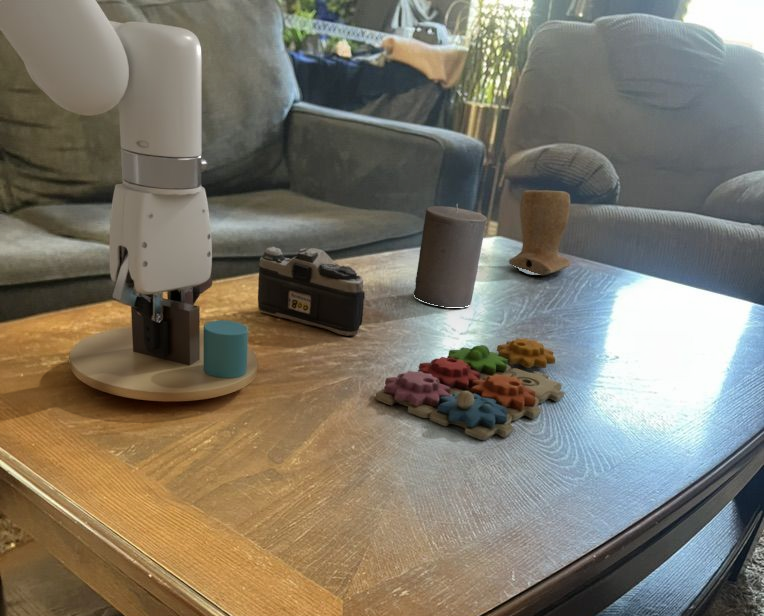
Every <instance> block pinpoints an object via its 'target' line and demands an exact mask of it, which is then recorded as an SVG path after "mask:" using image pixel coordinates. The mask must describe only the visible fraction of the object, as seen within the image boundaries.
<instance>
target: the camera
mask: <svg viewBox="0 0 764 616" xmlns="http://www.w3.org/2000/svg"><path fill="white" fill-rule="evenodd" d="M258 266H259V267H258V268H259V269H258V284H257V286H258V287H257V288H258V289H257V307H258V310H259V312H261V313H263V314H267V315H270V316H273V317H277V318H280V319H287V320H289V321H292V322H293V321H294V322H297V323H300V324H304V325H307V326H314V327H317V328H321V329H325V330H328V331H330V332H333V333H335V334H338V335H341V336H347V337H348V336H349V337H350V336H353V337H354V336H356V335H357V334H358V332H359V330H360V327H361V326H362V324H363V317H364V306H365V304H364V302H365V294H366V293H365V290H364V281H365V279H364V278H363V277H362V276H360V275H358V273H357V272H356V270H355V269H354V268H352V267H351V266H349V265H339V264H338V263H335V261H334V260H333V259H332V258H331V257H330V255H329V254H328V253H326V252H325V251H324V250H323V249H320V248H315V247H310V248H306V247H305V248H300V249H299V251H298V253H297V255H296V256H294V257H292V258H289V257H285V256H284V253H283V252H282V249H280V248H279V247H275V246H273V245H272V246H270V247H267V248H266V249H265V251H264V253H263V255H262V256H261V257H260V258H259V265H258Z"/></svg>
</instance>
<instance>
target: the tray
mask: <svg viewBox="0 0 764 616" xmlns="http://www.w3.org/2000/svg"><path fill="white" fill-rule="evenodd" d="M150 298H151V297H149V302H150ZM200 309H201V308H200V306H199V305H195V304H194V305H191V304H187V303H182V302H178V301H173V300H169V299H168V298H164V297H163V319H162V320H164V321H166V322H167V323H168V344H169V355H168V356H167V357H164V358H161V357H159V356H157V355H155V354H153V353H151V352H148V351H147V347H146V346H145V343H144V327H143V316H140V315H139V314H138V313H137V311H136V310H135V309H134V308H133V307H131V306H130V313H131V317H130V318H131V326H124V327H117V328H113V329H108V330H103V331H100V332H96V333H94V334H91V335H88V336H86V337H85V338H82V339H81V340H79V341H77V342H76V343H75V344H74V345H73V347H72V348H71V349H70V351H69V355H68V357H69V358H68V359H69V368H70V371H71V372H72V374H73V375H74V376H75V377H76V378H77V379H78V380H79V381H81V382H82V383H84V384H85V385H87V386H89V387H90V388H93V389H95V390H98V391H101V392H104V393H107V394H111V395H114V396H118V397H122V398H128V399H134V400H142V401H151V402H152V401H153V402H189V401H190V402H191V401H199V400H200V401H201V400H208V399H212V398H218V397H221V396H226V395H228V394H231V393H234V392H237V391H239V390H241V389H243V388H245V387H247V386H248V385H250V383H252V382H253V381H254V380H255V379H256V377H257V374H258V372H259V360H258V356H257V355H256V353H255V352H254V351H253V349H251V348H250V347H249V346H248V349H247V372H246V374H245V375H243V376H240V377H236V378H219V377H214V376H211V375H209V374H207V373H206V372H205V371H204V329H201V328H200V326H201V325H200V321H201V319H200V317H201V315H200V313H201V312H200V311H201V310H200Z"/></svg>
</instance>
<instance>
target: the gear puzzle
mask: <svg viewBox="0 0 764 616" xmlns="http://www.w3.org/2000/svg"><path fill="white" fill-rule="evenodd" d="M555 363H556V357H555V356H554V350H550V349H549V348H548V349H547V348H545V347H544V343H542V342H538V341H537V340H536V339H529V338H519V337H518V338H516V339H512V340H511V341H510V340H509V341H506V343H503V344H498V345H497V347H496V352H494V351H490V349H489V347H488V346H486V345H484V344H480V345H475V346H473V347H472V348H469V347H460V349H450V350H449V351H448V355H447V356H446V357H445V356H441V357H439V358H434V359H432V360H431V361H430V362H420V363H419V364H418V370H417V371H413V370H408V371H406V372H402V373H398V375H397V376H393V377H392V376H391V377H386V378H385V381H384V387H383V389H381V390H378V391H376V393H375V397H374V398H375V400H376V401H378V402H381V403H383V404H385V405H388V406H391V407H392V406H393V405H394V404H400V405H403V406H405V407H407V412H408V413H409V414H411V415H414V416H416V417H419V418H423V419H429V420H430V422H432V423H436V424H438V425H440V426H443V427H448V426H449V424H450V425H451V424H452V425H455V426H458V427H460V428H463V429H464V434H465V435H466V436H470V437H473V438H474V439H477V440H481V441H486V440H488V439H489V438H491V437H492V436H494V435H498V436H500V437H502V438H507V437H508V436H510V435H511V434H513V433H514V429H515V426H513V425H512V424H511V423H512V422H514V421H517V420H519V419H520V418H522V417H524V416H525V417H527V418H529V419H531V420H534V419H535V418H537V417H539V416H540V415H541V413H542V408H541V407H539V404H542V403H544V402H545V401H547V400H552V401H554V402H555V403H557V402H559V401H560V400H562V399H564V396H565V391H563V390H562V386H563V384H562V383H561V382H559V381H556V380H553V379H550V376H549V375H547V374H545V373H542V372H539V371H535V370H533V371H532V372H529V371H525V370H522V369H519V368H516V367H515V368H514V367H513V368H512V367H511V366H510V365H521V366H522V367H524V368H527V369H530V368H532V367H538V368H541V369H546V368H547V365H553V364H555Z"/></svg>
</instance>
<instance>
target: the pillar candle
mask: <svg viewBox="0 0 764 616" xmlns="http://www.w3.org/2000/svg"><path fill="white" fill-rule="evenodd" d="M458 205H459V203H456V204H455V207H454V206H444V205H443V206H442V205H440V206H438V205H436V206H428V207H427V208H426V210H425V214H424V222H423V228H422V236H421V242H420V247H419V257H418V262H417V269H416V276H415V286H414V291H413V293H414V295H415V297H416V298H418V299H420V300H422V301H424V302H427V303H430V304H434V305H438V306H444V307H465V306H468V305H470V306H471V303H472V301H473V295H474V290H475V284H476V280H477V275H478V267H479V265H480V264H479V263H480V258H481V252H482V246H483V243H484V236H485V230H486V225H487V220H488V218H487V216H485V215H484V214H482V213H480V212H476V211H472V210H470V209H469V210H468V209H464V208H459V206H458Z"/></svg>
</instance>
